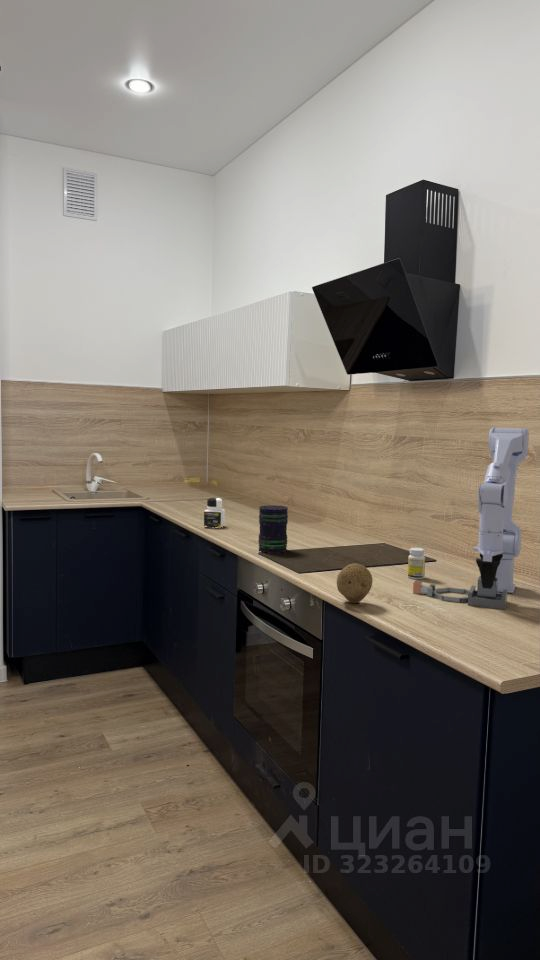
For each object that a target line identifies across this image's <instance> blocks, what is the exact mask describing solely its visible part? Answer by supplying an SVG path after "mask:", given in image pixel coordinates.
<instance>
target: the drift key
mask: <svg viewBox="0 0 540 960" xmlns="http://www.w3.org/2000/svg"><path fill="white" fill-rule="evenodd" d="M428 587H429V588H432V586H430V585H424V584H423V581H422V580H414V582H413V587H412V594H416V595H427V589H428Z"/></svg>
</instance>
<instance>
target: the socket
mask: <svg viewBox="0 0 540 960" xmlns="http://www.w3.org/2000/svg"><path fill="white" fill-rule="evenodd" d="M429 586H432V588H429V587H428V589H427V594H426V595H427V597H431V598H433V597H434V598H436V599H438V600H441V601H445V602H451V603H452V602H454V603H468V592H469V590H470V589H469V590H468V589H466V588H458V587H438V588H436V583H434V584H433V583H430V585H429ZM441 593H442V594H441ZM443 593H456V594H457V593H458V594H465V595H466V596H465V597H463V596H462V597H456V596H448V595H443Z"/></svg>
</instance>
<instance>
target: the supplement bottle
mask: <svg viewBox="0 0 540 960" xmlns="http://www.w3.org/2000/svg"><path fill="white" fill-rule="evenodd" d="M407 558H408V560H407V562H408V563H407V578H408V579H412V580H423V579H425V572H426V571H425V569H426V563H425V562H426V556H425V550H424V548H422V547H421V548H420V547H410V548H409V555H408V557H407Z"/></svg>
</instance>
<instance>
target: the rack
mask: <svg viewBox="0 0 540 960" xmlns="http://www.w3.org/2000/svg"><path fill="white" fill-rule="evenodd" d="M467 597H468V602H467V606H472V607H482V608H488V609H489V608H490V609H498V610H505V609H506V606H507V602H508V592H507V589H503V592H497V599H487V598H478V597H477V590H476V585H471V586H470V589H469V592H468V595H467Z"/></svg>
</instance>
